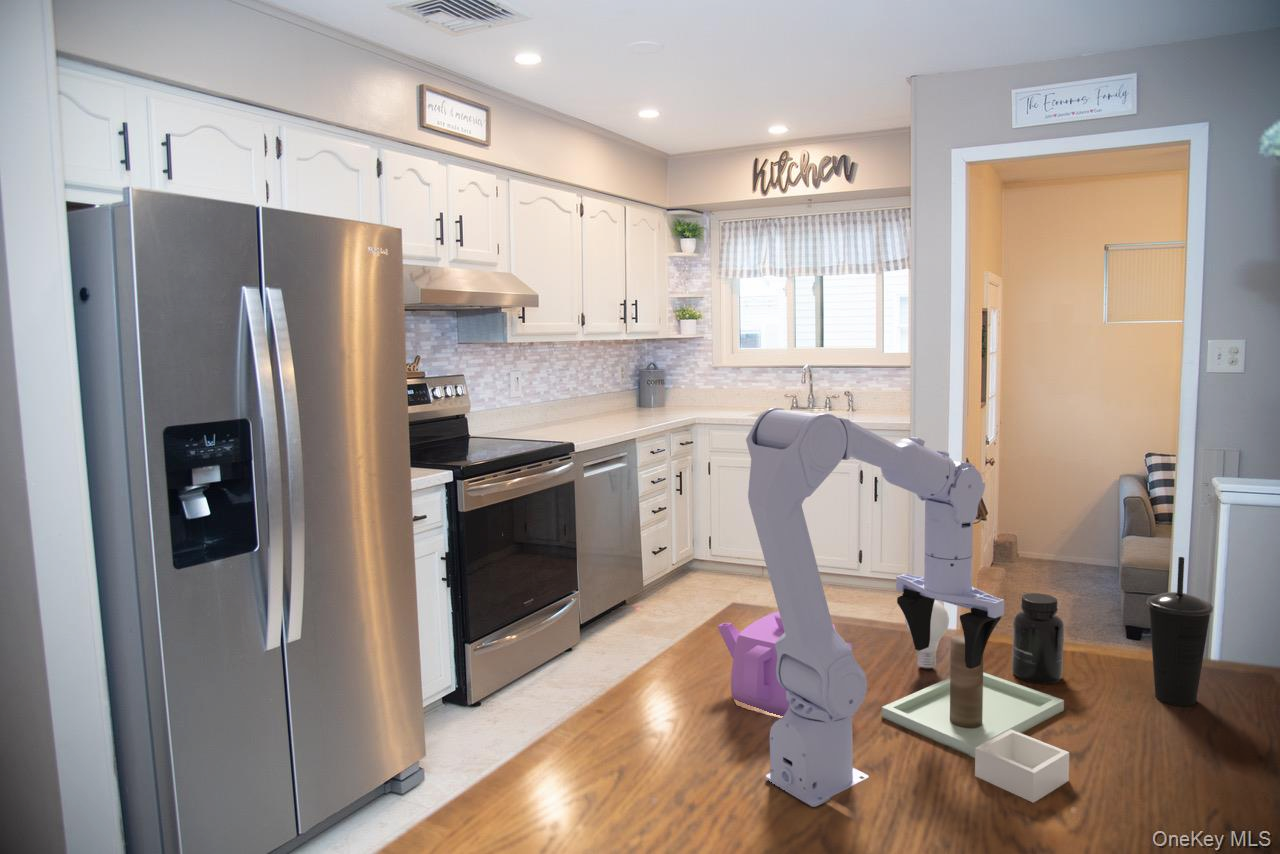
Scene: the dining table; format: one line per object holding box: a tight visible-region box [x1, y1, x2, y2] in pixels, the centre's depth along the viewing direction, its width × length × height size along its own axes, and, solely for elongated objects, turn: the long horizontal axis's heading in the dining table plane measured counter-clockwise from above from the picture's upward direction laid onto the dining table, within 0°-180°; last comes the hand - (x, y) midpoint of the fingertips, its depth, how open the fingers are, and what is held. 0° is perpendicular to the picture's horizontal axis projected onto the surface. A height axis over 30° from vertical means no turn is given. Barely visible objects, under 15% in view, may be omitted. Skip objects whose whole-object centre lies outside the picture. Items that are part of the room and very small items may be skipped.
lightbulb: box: [904, 599, 950, 670], centre depth 132 cm, size 6×6×11 cm
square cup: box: [974, 729, 1070, 804], centre depth 100 cm, size 7×7×4 cm
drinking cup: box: [1146, 556, 1214, 707], centre depth 118 cm, size 8×8×20 cm
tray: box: [881, 671, 1065, 759], centre depth 116 cm, size 20×14×2 cm
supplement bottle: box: [1011, 592, 1065, 685], centre depth 128 cm, size 7×7×12 cm
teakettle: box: [717, 611, 853, 716], centre depth 124 cm, size 17×17×12 cm
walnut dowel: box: [949, 634, 984, 728], centre depth 113 cm, size 4×4×11 cm
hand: (946, 657), depth 111 cm, fingers open, 7 cm apart
